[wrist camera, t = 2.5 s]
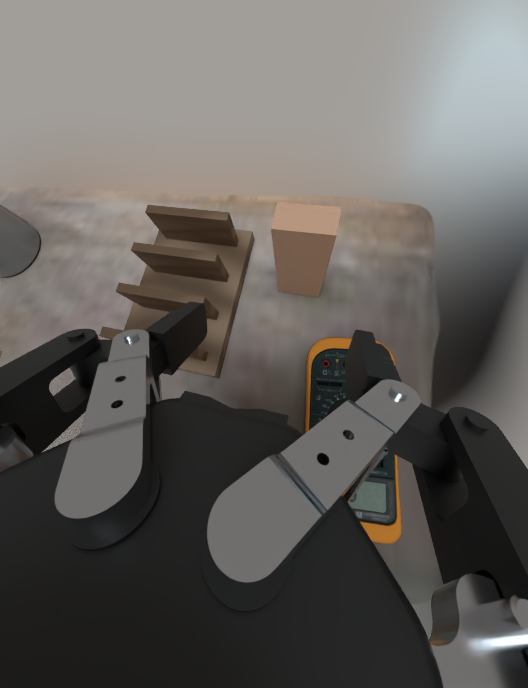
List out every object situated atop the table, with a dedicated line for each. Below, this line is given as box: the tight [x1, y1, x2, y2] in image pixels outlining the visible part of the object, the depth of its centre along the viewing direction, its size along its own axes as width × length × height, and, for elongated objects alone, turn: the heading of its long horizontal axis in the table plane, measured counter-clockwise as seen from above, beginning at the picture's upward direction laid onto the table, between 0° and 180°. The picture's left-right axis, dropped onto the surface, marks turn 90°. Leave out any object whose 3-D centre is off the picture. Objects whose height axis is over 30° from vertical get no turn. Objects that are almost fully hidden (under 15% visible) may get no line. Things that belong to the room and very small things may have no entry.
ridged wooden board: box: [99, 205, 254, 377], centre depth 26 cm, size 19×13×6 cm
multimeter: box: [305, 337, 402, 544], centre depth 22 cm, size 9×18×3 cm, turn 176°
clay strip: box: [271, 202, 341, 298], centre depth 22 cm, size 2×5×11 cm, turn 78°
